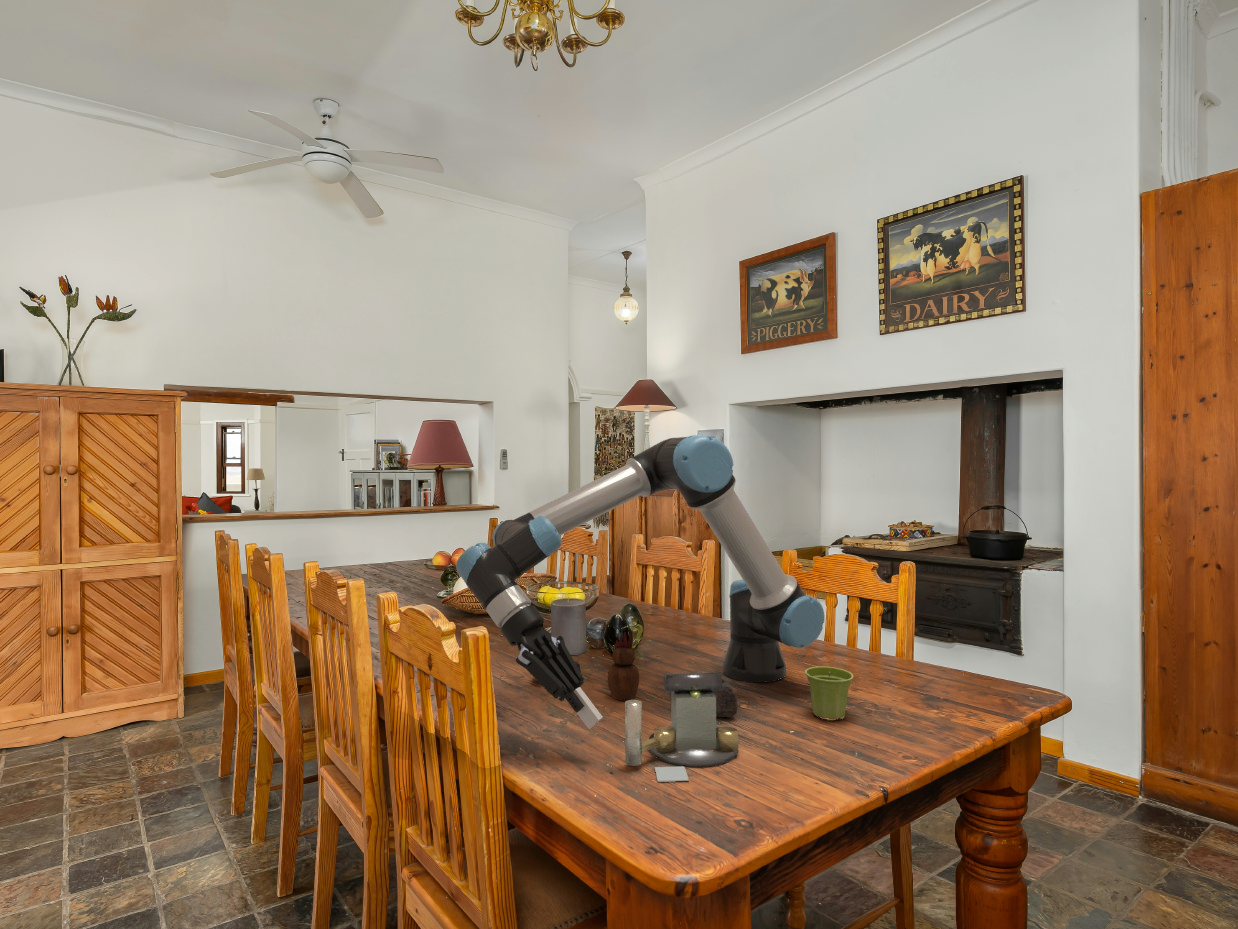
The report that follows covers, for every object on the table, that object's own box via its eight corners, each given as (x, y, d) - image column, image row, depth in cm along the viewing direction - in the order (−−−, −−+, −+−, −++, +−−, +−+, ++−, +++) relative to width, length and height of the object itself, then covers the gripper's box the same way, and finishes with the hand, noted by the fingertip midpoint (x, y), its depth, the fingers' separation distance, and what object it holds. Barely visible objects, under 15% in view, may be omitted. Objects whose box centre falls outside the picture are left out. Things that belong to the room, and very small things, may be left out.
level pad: (684, 768, 114) (684, 766, 114) (688, 782, 109) (688, 780, 109) (654, 769, 113) (654, 767, 113) (657, 782, 108) (657, 781, 108)
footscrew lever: (664, 745, 121) (664, 689, 121) (678, 751, 118) (678, 694, 118) (620, 760, 114) (620, 701, 114) (634, 768, 112) (633, 707, 112)
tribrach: (727, 729, 130) (727, 659, 131) (747, 766, 114) (747, 686, 114) (644, 731, 130) (644, 661, 130) (653, 768, 113) (653, 688, 113)
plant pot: (853, 710, 140) (853, 668, 140) (853, 727, 131) (853, 682, 131) (806, 705, 143) (806, 664, 143) (803, 721, 134) (803, 677, 134)
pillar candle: (566, 644, 193) (566, 592, 193) (593, 649, 188) (592, 595, 188) (543, 652, 185) (543, 598, 185) (571, 658, 180) (570, 602, 180)
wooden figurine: (643, 696, 149) (642, 628, 149) (632, 704, 144) (632, 634, 144) (615, 692, 152) (615, 625, 152) (604, 700, 147) (603, 631, 147)
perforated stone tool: (695, 698, 148) (695, 666, 148) (719, 697, 149) (719, 665, 149) (714, 724, 133) (713, 688, 133) (739, 722, 134) (739, 687, 134)
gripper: (524, 622, 131) (600, 723, 124) (482, 637, 120) (563, 749, 112) (547, 597, 129) (626, 699, 121) (507, 610, 117) (591, 723, 110)
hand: (595, 723), depth 117 cm, fingers closed
